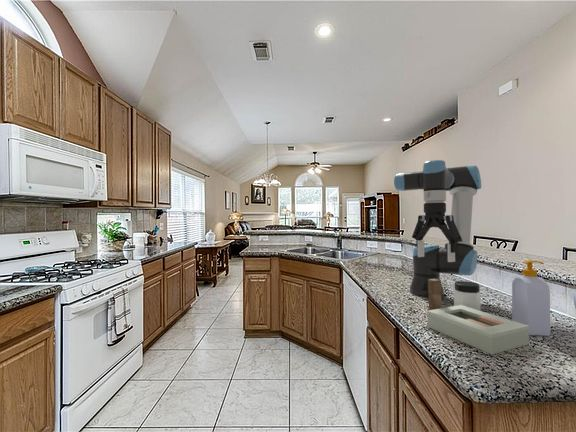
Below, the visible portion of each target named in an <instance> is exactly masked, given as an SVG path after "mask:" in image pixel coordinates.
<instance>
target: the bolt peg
mask: <svg viewBox="0 0 576 432" xmlns="http://www.w3.org/2000/svg"><path fill="white" fill-rule="evenodd" d="M441 284H442V280H441V279H440V280H438V279H428V291H429V296H428V306H427V311H429V310H435V309H440V308H442V296H441Z"/></svg>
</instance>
